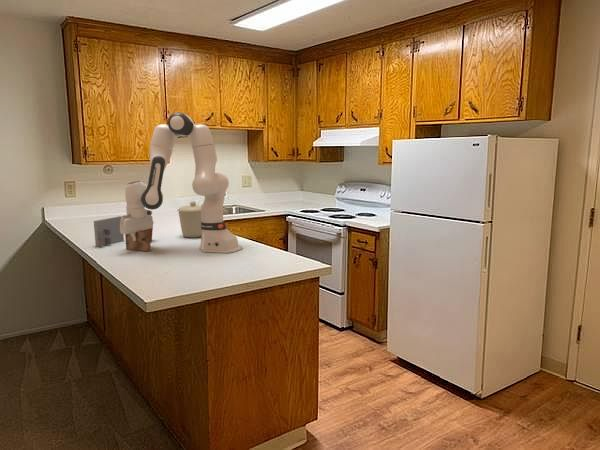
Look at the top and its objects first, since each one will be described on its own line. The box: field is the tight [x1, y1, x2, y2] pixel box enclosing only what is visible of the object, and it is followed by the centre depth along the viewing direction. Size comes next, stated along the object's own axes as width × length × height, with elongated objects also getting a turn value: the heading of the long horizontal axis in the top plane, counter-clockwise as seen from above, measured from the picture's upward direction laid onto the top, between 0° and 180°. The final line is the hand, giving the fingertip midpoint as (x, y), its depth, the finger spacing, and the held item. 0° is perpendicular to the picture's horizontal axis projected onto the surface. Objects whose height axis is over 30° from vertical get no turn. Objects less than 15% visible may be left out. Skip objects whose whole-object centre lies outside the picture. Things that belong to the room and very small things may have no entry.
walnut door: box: [124, 230, 152, 252], centre depth 231 cm, size 14×4×10 cm, turn 67°
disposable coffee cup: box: [144, 221, 154, 243], centre depth 252 cm, size 10×10×12 cm
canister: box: [177, 200, 202, 239], centre depth 266 cm, size 18×18×21 cm
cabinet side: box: [93, 215, 125, 248], centre depth 246 cm, size 5×18×14 cm, turn 157°
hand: (137, 239), depth 231 cm, fingers closed on walnut door, 2 cm apart
